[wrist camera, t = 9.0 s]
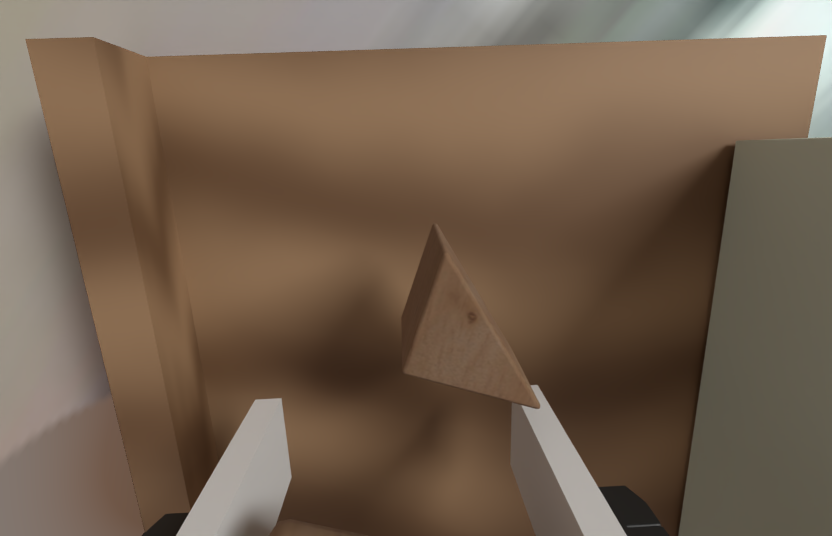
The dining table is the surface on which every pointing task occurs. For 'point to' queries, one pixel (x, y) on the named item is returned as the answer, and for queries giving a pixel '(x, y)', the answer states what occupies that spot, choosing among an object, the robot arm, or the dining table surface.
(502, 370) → the wooden block set
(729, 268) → the bookend
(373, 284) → the wooden board
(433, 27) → the dining table surface
